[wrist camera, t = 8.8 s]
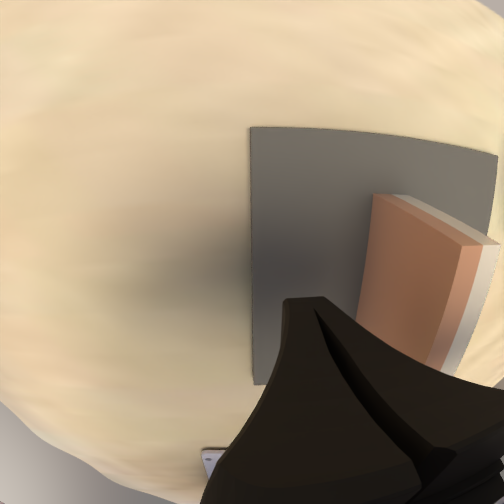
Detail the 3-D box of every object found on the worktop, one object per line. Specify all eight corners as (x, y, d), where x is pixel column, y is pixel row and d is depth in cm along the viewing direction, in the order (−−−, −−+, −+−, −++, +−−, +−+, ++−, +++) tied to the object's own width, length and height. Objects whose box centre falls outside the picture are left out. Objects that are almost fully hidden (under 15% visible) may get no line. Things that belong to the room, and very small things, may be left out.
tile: (383, 326, 15) (435, 409, 9) (353, 330, 15) (398, 420, 9) (407, 195, 12) (501, 244, 7) (373, 193, 12) (462, 246, 7)
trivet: (443, 350, 17) (448, 355, 16) (253, 377, 16) (253, 385, 16) (490, 154, 12) (498, 155, 11) (250, 127, 11) (250, 127, 11)
